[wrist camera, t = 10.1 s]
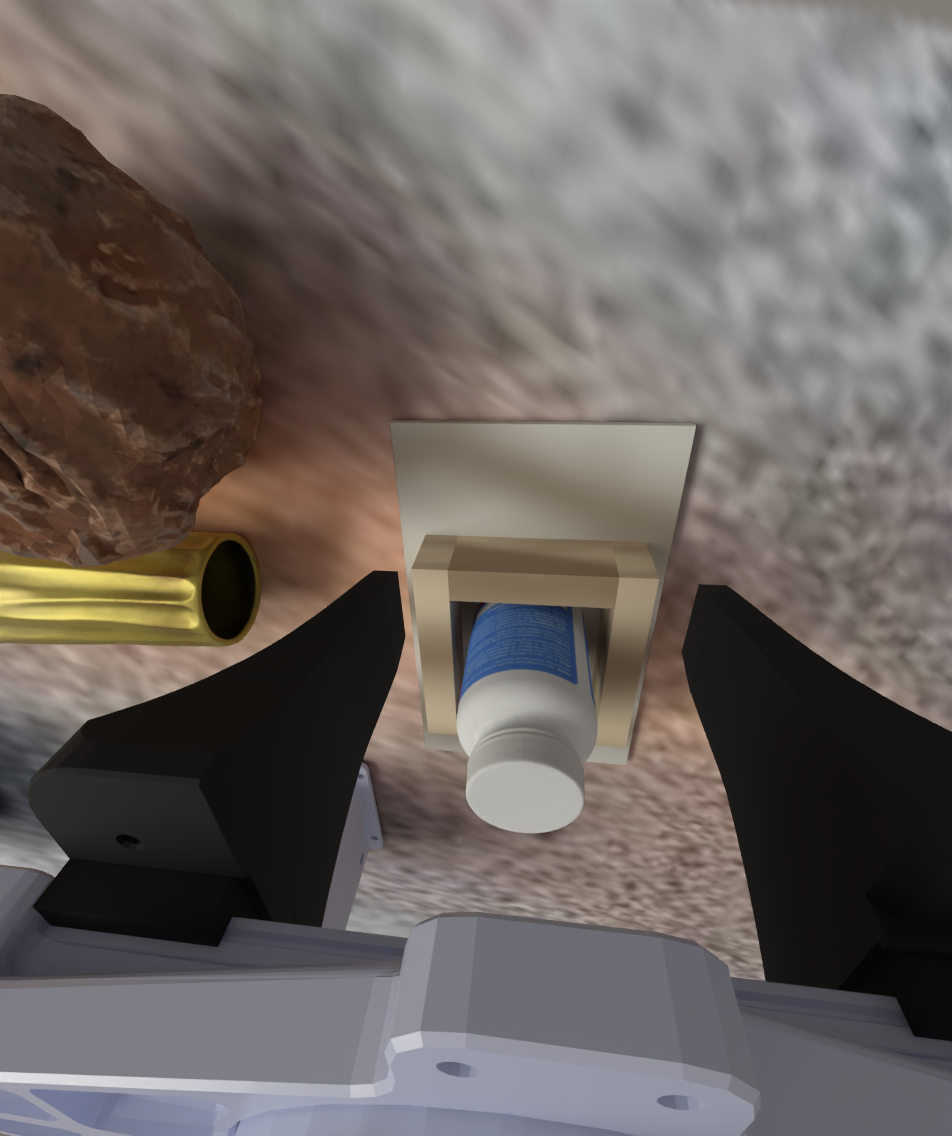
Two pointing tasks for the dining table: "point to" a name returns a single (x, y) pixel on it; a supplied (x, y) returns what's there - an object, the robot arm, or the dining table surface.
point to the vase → (135, 596)
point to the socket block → (538, 546)
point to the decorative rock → (108, 355)
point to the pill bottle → (527, 715)
